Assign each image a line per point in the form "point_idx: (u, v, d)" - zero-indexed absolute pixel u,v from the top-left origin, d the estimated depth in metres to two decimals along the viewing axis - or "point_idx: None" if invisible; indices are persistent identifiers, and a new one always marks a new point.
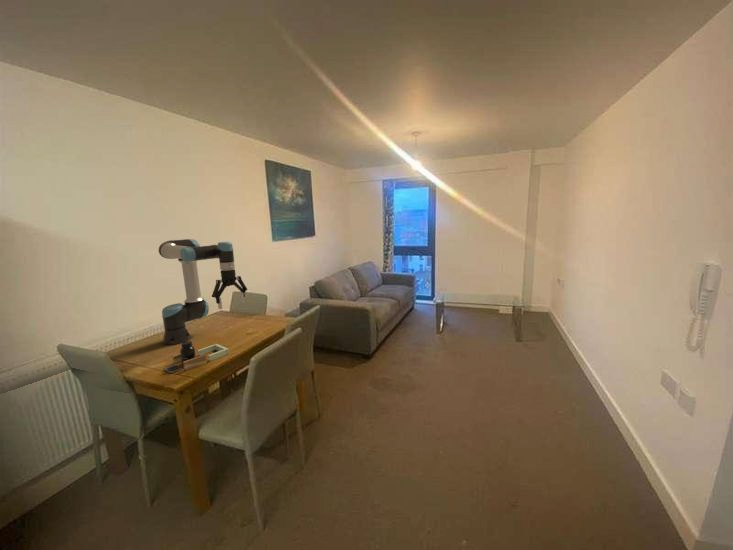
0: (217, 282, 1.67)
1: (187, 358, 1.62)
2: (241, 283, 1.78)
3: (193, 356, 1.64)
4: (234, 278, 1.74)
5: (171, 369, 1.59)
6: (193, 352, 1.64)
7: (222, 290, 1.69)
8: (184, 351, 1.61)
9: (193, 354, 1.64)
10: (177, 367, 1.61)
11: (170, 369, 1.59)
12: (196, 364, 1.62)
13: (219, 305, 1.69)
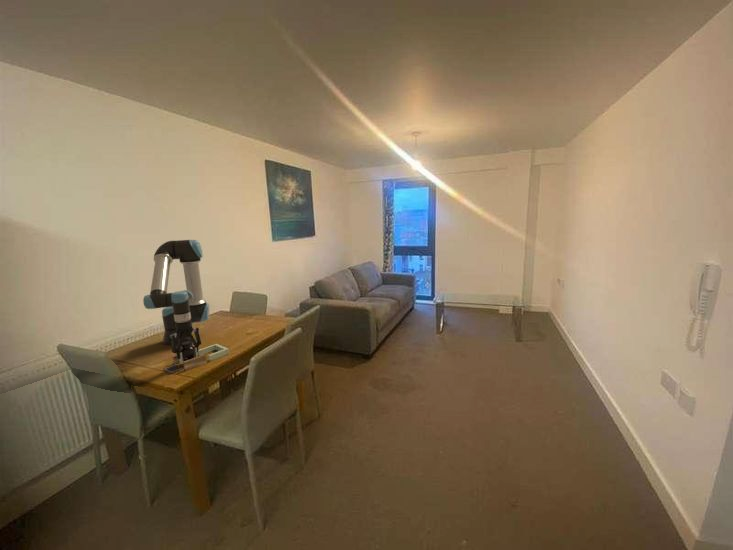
0: (172, 338, 1.57)
1: (187, 358, 1.62)
2: (197, 336, 1.67)
3: (193, 356, 1.64)
4: (191, 329, 1.64)
5: (171, 369, 1.59)
6: (193, 352, 1.64)
7: (180, 344, 1.60)
8: (184, 351, 1.61)
9: (193, 354, 1.64)
10: (177, 367, 1.61)
11: (170, 369, 1.59)
12: (196, 364, 1.62)
13: (180, 360, 1.62)
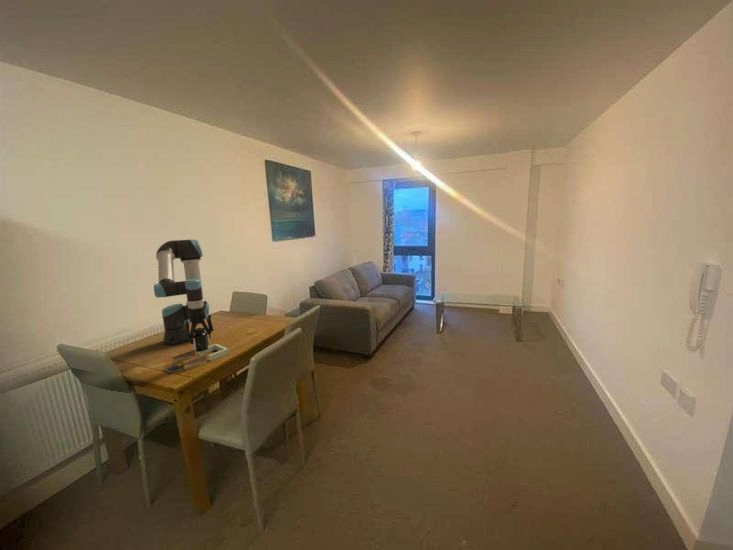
0: (185, 324, 1.62)
1: (200, 344, 1.67)
2: (209, 322, 1.72)
3: (205, 342, 1.69)
4: (203, 315, 1.69)
5: (171, 369, 1.59)
6: (205, 338, 1.69)
7: (193, 330, 1.65)
8: (197, 337, 1.66)
9: (205, 340, 1.69)
10: (177, 367, 1.61)
11: (170, 369, 1.59)
12: (196, 364, 1.62)
13: (193, 346, 1.67)
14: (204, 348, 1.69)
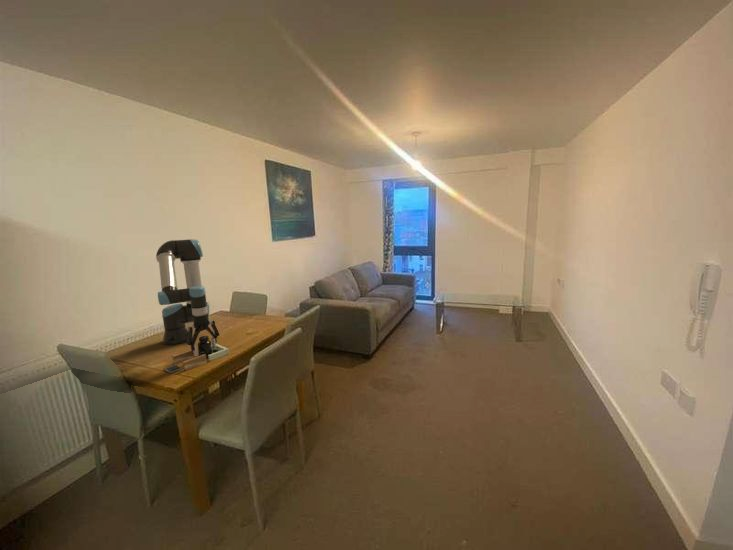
0: (189, 330, 1.64)
1: (204, 352, 1.69)
2: (214, 328, 1.74)
3: (210, 350, 1.72)
4: (207, 322, 1.71)
5: (171, 369, 1.59)
6: (210, 346, 1.72)
7: (196, 336, 1.67)
8: (201, 345, 1.68)
9: (210, 348, 1.72)
10: (177, 367, 1.61)
11: (170, 369, 1.59)
12: (196, 364, 1.62)
13: (194, 352, 1.68)
14: None
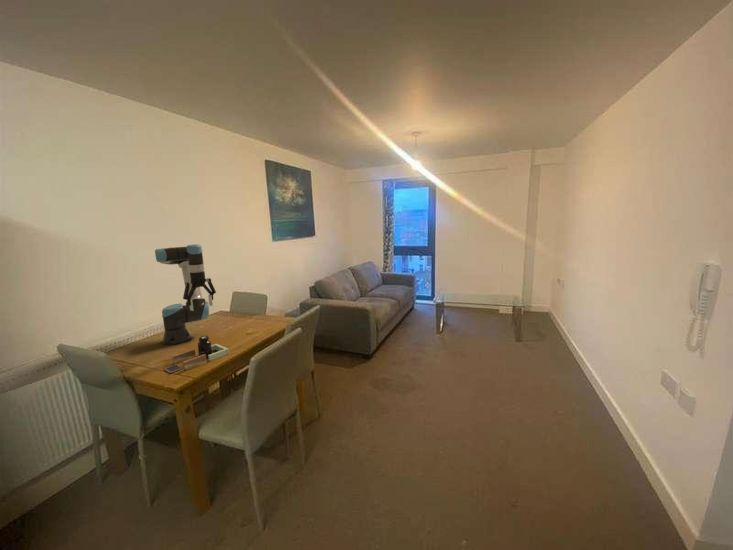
0: (186, 285, 1.73)
1: (204, 352, 1.69)
2: (210, 285, 1.83)
3: (210, 350, 1.72)
4: (204, 279, 1.79)
5: (171, 369, 1.59)
6: (210, 346, 1.72)
7: (192, 292, 1.75)
8: (201, 345, 1.68)
9: (210, 348, 1.72)
10: (177, 367, 1.61)
11: (170, 369, 1.59)
12: (196, 364, 1.62)
13: (190, 307, 1.76)
14: None
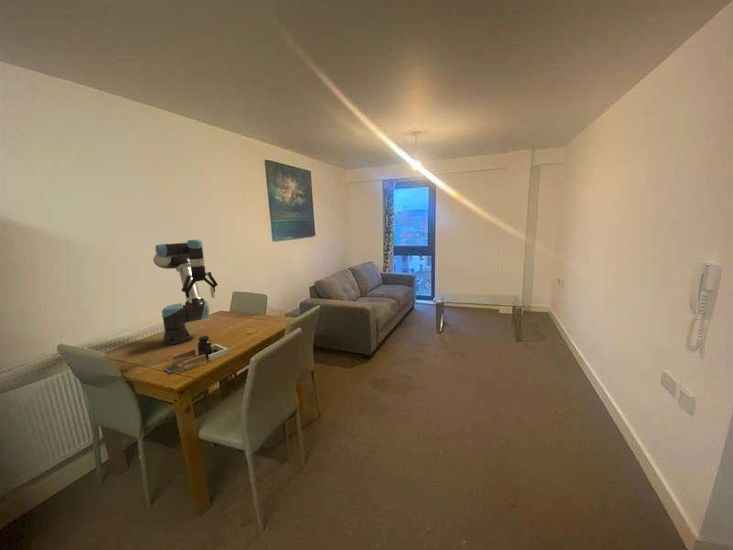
0: (187, 277, 1.78)
1: (204, 352, 1.69)
2: (211, 279, 1.89)
3: (210, 350, 1.72)
4: (204, 274, 1.85)
5: (171, 369, 1.59)
6: (210, 346, 1.72)
7: (192, 285, 1.80)
8: (201, 345, 1.68)
9: (210, 348, 1.72)
10: (177, 367, 1.61)
11: (170, 369, 1.59)
12: (196, 364, 1.62)
13: (189, 299, 1.80)
14: None
